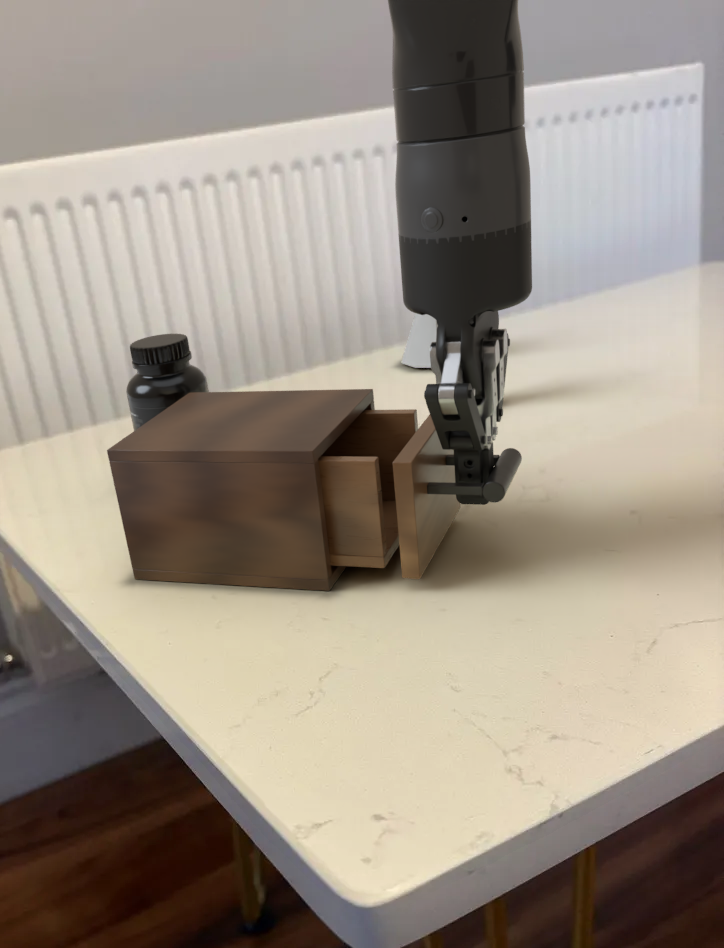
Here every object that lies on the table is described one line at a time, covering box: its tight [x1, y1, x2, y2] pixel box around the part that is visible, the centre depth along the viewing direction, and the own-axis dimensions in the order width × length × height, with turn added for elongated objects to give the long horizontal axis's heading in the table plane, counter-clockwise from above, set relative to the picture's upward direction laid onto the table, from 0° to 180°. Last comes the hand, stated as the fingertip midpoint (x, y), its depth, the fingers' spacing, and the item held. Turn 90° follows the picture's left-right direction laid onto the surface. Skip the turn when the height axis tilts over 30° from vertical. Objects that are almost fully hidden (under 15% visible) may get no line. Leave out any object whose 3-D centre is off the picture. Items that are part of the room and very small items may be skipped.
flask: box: [400, 313, 438, 369], centre depth 110 cm, size 7×7×10 cm
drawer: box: [318, 408, 523, 580], centre depth 69 cm, size 18×11×8 cm, turn 68°
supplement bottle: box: [126, 333, 210, 432], centre depth 87 cm, size 7×7×12 cm
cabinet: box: [106, 388, 376, 592], centre depth 72 cm, size 15×13×10 cm
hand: (475, 499), depth 67 cm, fingers closed
